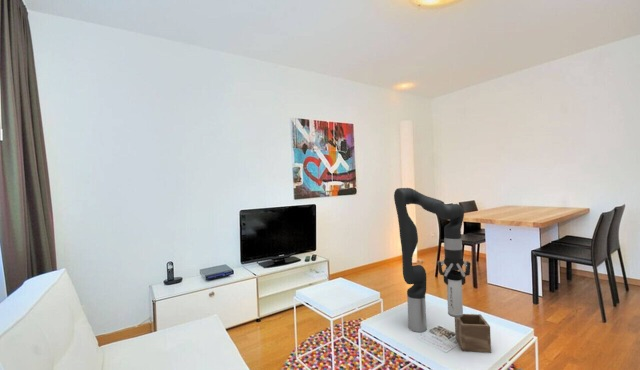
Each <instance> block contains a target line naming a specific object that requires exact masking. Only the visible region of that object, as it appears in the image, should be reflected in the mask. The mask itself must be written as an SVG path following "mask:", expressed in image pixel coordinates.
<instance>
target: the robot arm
mask: <svg viewBox="0 0 640 370" xmlns="http://www.w3.org/2000/svg"><path fill="white" fill-rule="evenodd" d="M393 200H394V205H395V209H396V210H395V211H396V215H397V220H398V221H397V222H398V228H399V229H398V230H399V241H400V245H401V255H402V257H401V258H402V261H401V262H402V275H403V276H402V277H403V280H404V283H406V284H407V285H411V286H410V287H409V288H407V290H406V300H407V320H408V321H407V323H408V329H409V330H411V331H413V332H416V333H423V332H426V331H427V305H426V303H427V302H426V293H427V272H426V269H425V267H424V265H421V264H415V265H413V256H414V254H415V253H414V252H415V251H416V248H417V246H418V242H419V235H418V234H419V233H418V229H417V226H416V224H415V223H414V220H413V219H412V218H411V217H410V215H409V212H408V207H407V205H418V206H420V207H421V209H423V210H424V211H427V212H429V213H432V214H435V215H436V216H438V218H440V219H442V220H446V221H449V223H448V224H445V226H444V227H443V231H444V232H443V234H444V236H443V237H444V240H443V248H444V249H443V251H444V252H443V255H444V260H441V261H440V260H437V267H438V274H439V275H441V276H442V277H443V282H444V284H445V285H446V286H447V285H448V277H447V275H448V273H449V272H450V270H456V271H459V272H461V278H462V286H463V285H465V284H466V277H467V276H470V275H471V274H470V273H471V265H472V263H471V262H470V261H469V260H466V261H465V260H463V258H464V257H463V241H462V226H463V221H464V218H465V217H464V216H465V210H464V208H463V206H462V205H461V204H460V203H459V204H458V203H451V204H446V203H445V202H444V201H443V200H440V199H437V198H435V197H431V196H428V195H425V194H423V193H421V192H419V191H417V190H416V189H413V188H412V187H411V188H410V187H399V188H396V189H395V190H394V193H393ZM444 265H445V268H444V271H443V266H444ZM463 265H464V267H465V272H464V270H463V269H462V266H463Z"/></svg>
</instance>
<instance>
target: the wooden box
mask: <svg viewBox="0 0 640 370" xmlns="http://www.w3.org/2000/svg"><path fill="white" fill-rule="evenodd" d="M454 334H455V340H456V341H457V343H458V345H459V347H460V350H461V351H462V352H470V353H483V354H484V353H485V354H492V345H491V344H492V340H491V339H492V338H491V325H490V324H489V323H488V322H487V321H486V319H485V318H484V317H483V316H482V314H479V313H478V314H475V313H463V316H462V317H460V318H456V317H454Z"/></svg>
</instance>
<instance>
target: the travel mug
mask: <svg viewBox="0 0 640 370" xmlns="http://www.w3.org/2000/svg"><path fill="white" fill-rule="evenodd" d="M461 276H462V275H461V272H460V271H459V270H450V272H449V273H448V275H447V277H448V285H447V284H446V292H447V295H446V297H447V300H446V301H447V314H448V316H450V317H452V318H455V317H456V318H460V317H462V316H463V314H464V308H463V306H464V305H463V285H462V278H461Z"/></svg>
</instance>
